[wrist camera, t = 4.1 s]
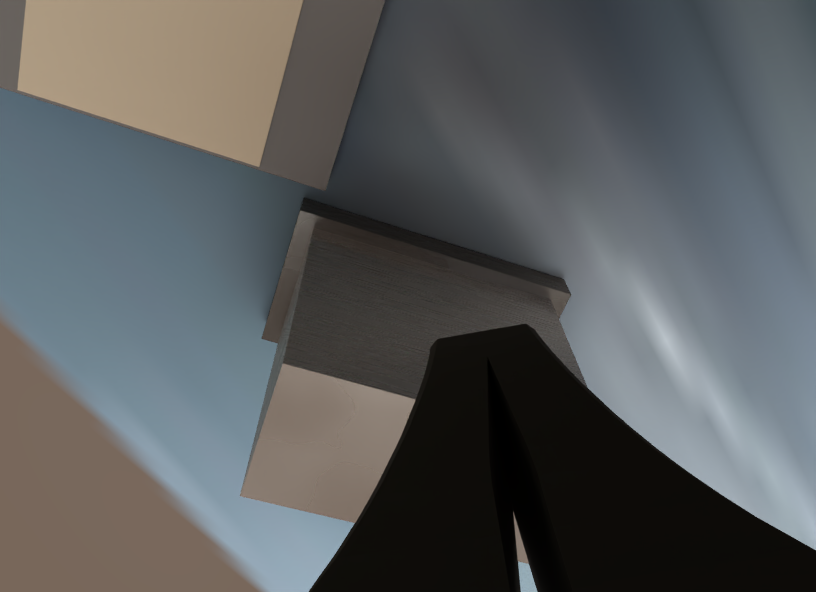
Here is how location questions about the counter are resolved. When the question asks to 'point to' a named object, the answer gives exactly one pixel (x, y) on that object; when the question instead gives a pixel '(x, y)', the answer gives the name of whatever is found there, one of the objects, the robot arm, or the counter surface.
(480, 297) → the block
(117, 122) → the pad
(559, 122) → the counter surface
